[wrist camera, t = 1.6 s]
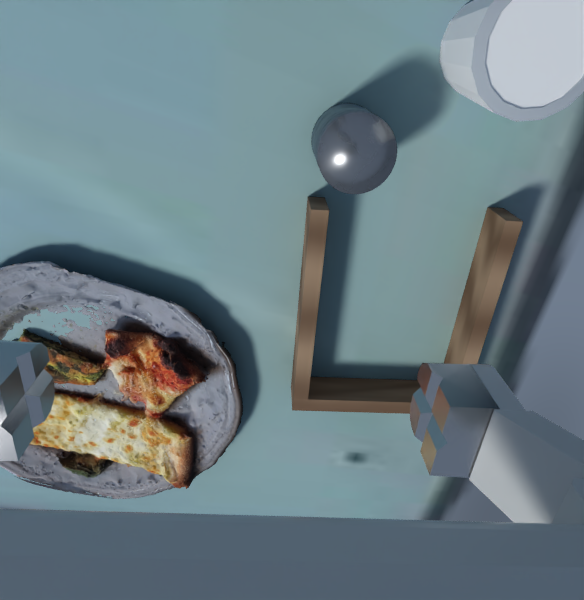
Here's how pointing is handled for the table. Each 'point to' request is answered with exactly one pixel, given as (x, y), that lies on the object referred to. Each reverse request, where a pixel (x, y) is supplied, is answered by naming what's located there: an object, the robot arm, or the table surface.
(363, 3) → the table surface
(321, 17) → the table surface
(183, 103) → the table surface
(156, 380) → the food plate
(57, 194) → the table surface
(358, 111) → the grey rounded piece
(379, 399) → the wooden u-shaped frame
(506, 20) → the shot glass
